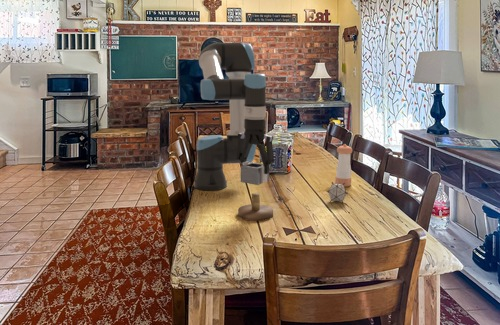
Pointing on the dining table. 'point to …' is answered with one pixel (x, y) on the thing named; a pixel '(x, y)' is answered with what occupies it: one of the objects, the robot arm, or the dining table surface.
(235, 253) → the dining table surface
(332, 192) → the game die
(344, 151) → the pepper shaker
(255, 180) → the hollow square box
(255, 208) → the round base with post
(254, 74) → the robot arm
